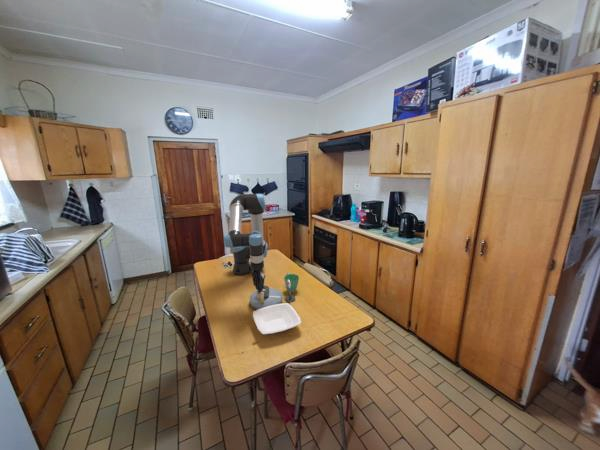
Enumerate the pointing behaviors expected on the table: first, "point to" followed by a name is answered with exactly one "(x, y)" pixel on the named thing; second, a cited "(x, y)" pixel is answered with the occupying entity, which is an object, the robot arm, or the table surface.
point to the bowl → (276, 318)
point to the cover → (265, 292)
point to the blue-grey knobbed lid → (271, 300)
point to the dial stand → (290, 297)
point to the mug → (292, 281)
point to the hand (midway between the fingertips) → (259, 297)
